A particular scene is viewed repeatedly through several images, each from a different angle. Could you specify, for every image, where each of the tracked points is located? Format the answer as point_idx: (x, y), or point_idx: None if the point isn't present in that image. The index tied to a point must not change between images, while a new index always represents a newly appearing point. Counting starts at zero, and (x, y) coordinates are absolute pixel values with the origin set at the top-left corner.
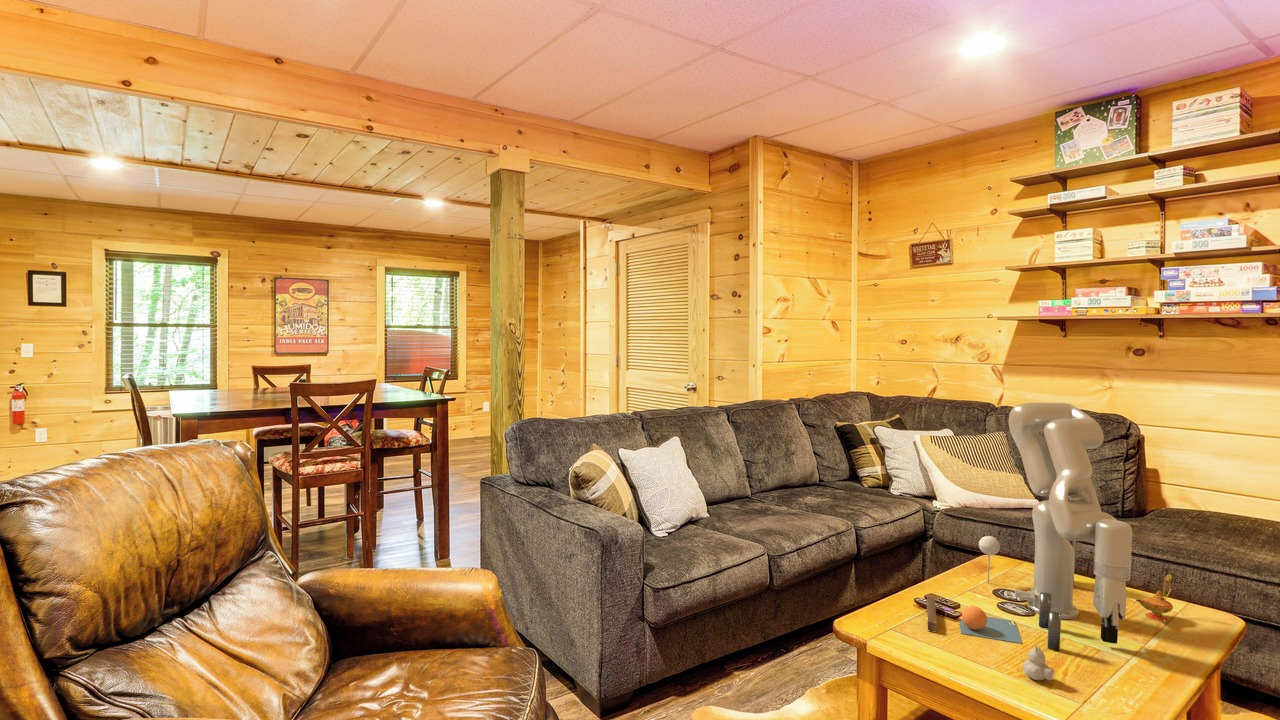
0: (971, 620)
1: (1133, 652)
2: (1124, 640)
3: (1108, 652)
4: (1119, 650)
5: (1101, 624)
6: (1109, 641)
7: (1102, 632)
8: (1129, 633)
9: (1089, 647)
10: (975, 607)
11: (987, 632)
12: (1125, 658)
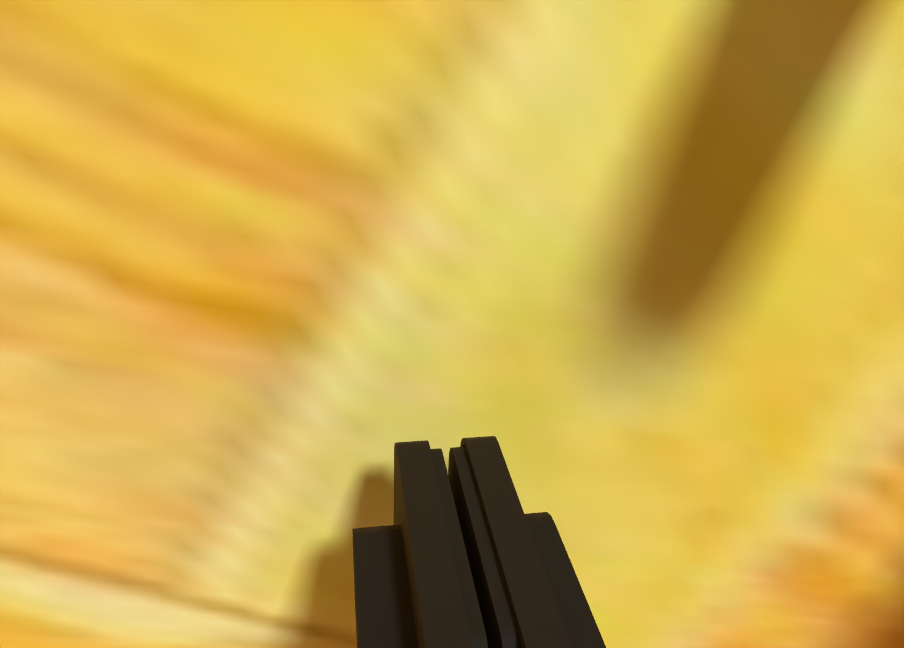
0: None
1: None
2: (676, 595)
3: (245, 429)
4: None
5: (533, 644)
6: (395, 522)
7: (409, 545)
8: (844, 637)
9: (299, 224)
10: None
11: None
12: (157, 565)
